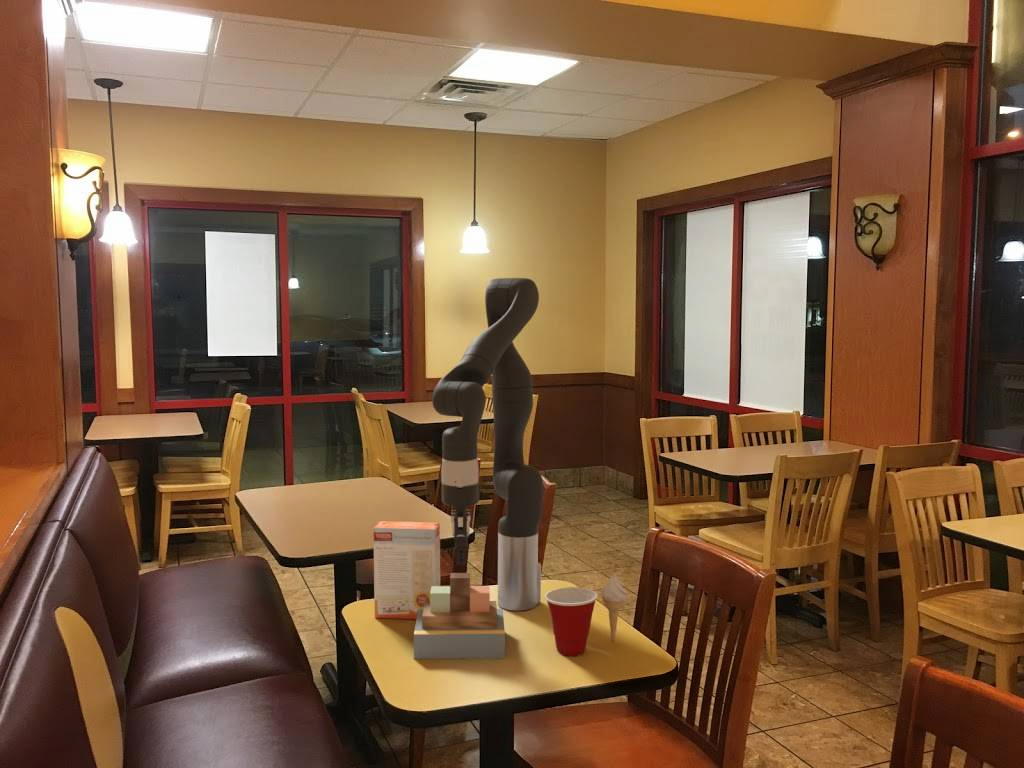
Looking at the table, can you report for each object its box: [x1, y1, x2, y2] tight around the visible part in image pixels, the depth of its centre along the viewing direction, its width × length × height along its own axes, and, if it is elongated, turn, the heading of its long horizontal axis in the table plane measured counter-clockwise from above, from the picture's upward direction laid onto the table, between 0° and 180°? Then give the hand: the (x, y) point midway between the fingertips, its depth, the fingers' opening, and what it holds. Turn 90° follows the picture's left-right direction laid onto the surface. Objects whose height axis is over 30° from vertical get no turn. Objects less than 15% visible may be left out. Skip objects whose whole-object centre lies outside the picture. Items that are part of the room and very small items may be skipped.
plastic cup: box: [544, 586, 599, 657], centre depth 170 cm, size 11×11×12 cm
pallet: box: [422, 572, 498, 629], centre depth 171 cm, size 15×8×10 cm, turn 92°
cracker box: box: [373, 520, 441, 620], centre depth 186 cm, size 14×6×21 cm, turn 84°
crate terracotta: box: [470, 585, 491, 612], centre depth 171 cm, size 4×4×4 cm
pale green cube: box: [430, 585, 450, 612], centre depth 171 cm, size 4×4×4 cm
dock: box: [413, 608, 506, 660], centre depth 172 cm, size 18×13×5 cm
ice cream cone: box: [600, 572, 628, 642], centre depth 174 cm, size 6×6×15 cm
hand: (461, 557), depth 170 cm, fingers open, 8 cm apart
